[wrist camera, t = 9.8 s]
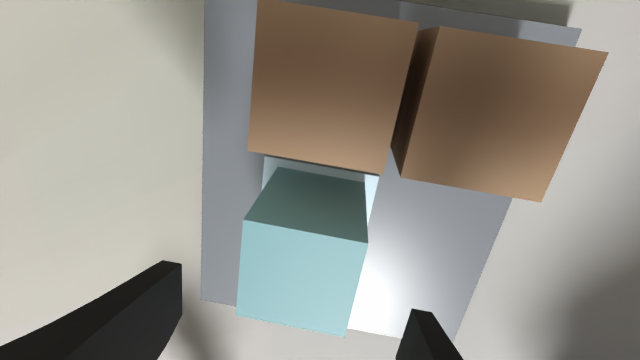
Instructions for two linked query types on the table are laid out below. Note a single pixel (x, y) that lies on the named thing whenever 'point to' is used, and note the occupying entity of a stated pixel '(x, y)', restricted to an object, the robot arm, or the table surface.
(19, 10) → the table surface
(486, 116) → the walnut blocks
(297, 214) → the teal block
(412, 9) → the baseplate
